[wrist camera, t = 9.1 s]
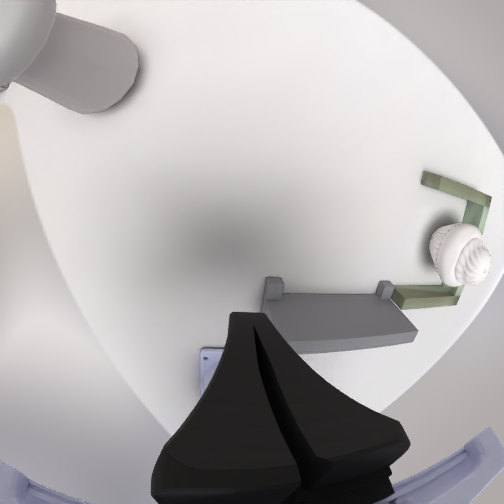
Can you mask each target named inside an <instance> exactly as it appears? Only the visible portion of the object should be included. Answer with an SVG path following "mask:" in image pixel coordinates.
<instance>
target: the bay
mask: <svg viewBox="0 0 504 504" xmlns="http://www.w3.org/2000/svg"><path fill="white" fill-rule="evenodd" d="M421 184H423V185H426V186H428V187H431V188H434V189H437V190H440V191H443V192H446V193H449V194H452V195H455V196H458V197H461V198H464V199H466V200H468V203H467V207H466V211H465V215H464V219H463V224H471V225H474V226H476V227H477V228H478V229H479V231H480V232H481V235H482V234H483V230H484V227H485V223H486V219H487V215H488V211H489V207H490V203H491V198H492V197H491V196H489V195H486V194H484V193H482V192H480V191H477V190H475V189H473V188H470V187H468V186H466V185H463V184H461V183H458V182H456V181H453V180H451V179H448V178H445V177H443V176H440V175H436V174H433V173H429V172H426V171H423V176H422V181H421ZM464 285H465V284H462V285H460V286H456V287H452V286H448V285H446V284H445V283H442V285H436V286H395V288H394V290H393V293H392V296H391V299H392V301H393V302H394V303H395V304H396V305H397V306H398V307H399V308H400V309H401V310H406V309H419V308H431V307H442V306H452V305H456V304H457V302H458V300H459V297H460V295H461V293H462V290H463V288H464Z"/></svg>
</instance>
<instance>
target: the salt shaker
mask: <svg viewBox="0 0 504 504" xmlns="http://www.w3.org/2000/svg"><path fill="white" fill-rule="evenodd" d="M138 67H139V63H138V54H137V47H136V46H135V45H134V44H133V42H132V41H131V40H130V39H129V38H128V37H127V36H126V35H124V34H122V33H119V32H116V31H113V30H111V29H108V28H105V27H102V26H99V25H96V24H93V23H89V22H86V21H83V20H79V19H76V18H73V17H70V16H67V15H63V14H60V13H56V1H55V0H0V87H1V86H4V85H6V84H8V83H11V82H13V81H14V82H16V83H18V84H20V85H22V86H24V87H26V88H29V89H31V90H33V91H35V92H37V93H39V94H41V95H43V96H44V97H46V98H48V99H50V100H52V101H54V102H56V103H58V104H60V105H62V106H64V107H66V108H68V109H70V110H73V111H76V112H78V113H81V114H87V113H93V112H100V111H104V110H106V109H107V108H109V107H110V106H112V105H113V104H115V103H117V102H118V101H120V100H121V98H122V97H123V96H124V95H125V94H126V92H127V91H128V90H129V89H130V88H131V86H132V85H133V83H134V80H135V77H136V73H137V70H138Z"/></svg>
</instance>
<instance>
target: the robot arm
mask: <svg viewBox="0 0 504 504" xmlns="http://www.w3.org/2000/svg"><path fill="white" fill-rule="evenodd" d="M205 357H207V358H205ZM200 394H201V398H200V400H199V401H198V403H197V405H196V406H195V407H194V409H193V410H192V412H191V413H190V415H189V416H188V417H187V419H186V420H185V421H184V423H183V424H182V425H181V427H180V428H179V429H178V430H177V431H176V433H175V434H174V435H173V436H172V437H171V438H170V439H169V441H168V442H167V443H166V444H165V445H164V447H163V449H162V451H161V454H160V455H159V457H158V460H157V462H156V464H155V467H154V470H153V473H152V478H151V496H152V497H153V498H154V499H155V500H156V501H157V502H158V504H387V503H388V504H470V503H471V502H472V501H473V500H474V499H475V498H476V497H477V495H479V494H480V493H481V492H482V490H483V489H484V488H485V487H486V486H487V485H488V484H489V483H490V482H491V481H492V480H493V479H494V478H495V477H496V476H497V475H498V474H499V473H500V472H501V471H502V470H503V469H504V448H503V446H502V445H501V443H500V441H499V440H498V438H497V436H496V435H495V433H494V432H493V430H492V428H491V427H490V426H488V427H487V428H485V429H484V430H483V431H481V432H480V433H478V434H477V435H476V436H475V437H473V438H472V439H471V440H470V441H469V442H468V443H466V444H465V446H464V447H462V448H461V449H459V450H458V451H456V452H455V453H453V454H451V455H450V456H448V457H446V458H445V459H443V460H441V461H439V462H438V463H436V464H434V465H432V466H430V467H428V468H427V469H425V470H423V471H421V472H419V473H417V474H415V475H413V476H411V477H409V478H406V479H404V480H402V481H400V482H398V483H395V484H393V485H392V484H391V482H390V480H389V476H391V475H392V472H391V469H390V467H389V466H390V465H391V464H393V463H394V462H395V461H396V460H397V459H399V458H400V457H401V456H402V455H403V454H404V453H405V452H406V451H407V450H408V449H409V447H410V441H409V439H408V437H407V435H406V433H405V431H404V429H403V427H402V425H401V424H400V422H399V421H397V420H394V419H392V418H389V417H387V416H385V415H382V414H380V413H378V412H375V411H373V410H371V409H369V408H368V407H366V406H364V405H362V404H360V403H358V402H357V401H355V400H353V399H352V398H350V397H348V396H347V395H345V394H344V393H342V392H341V391H339V390H338V389H336V388H335V387H334V386H332V385H331V384H330V383H328V382H327V381H326V380H325V379H323V378H322V377H321V376H320V375H319V374H317V373H316V372H315V371H314V370H313V369H312V368H311V367H310V366H309V365H308V364H307V363H306V362H305V361H304V360H303V359H302V358H301V357H300V356H299V355H298V354H297V353H296V352H295V351H294V350H293V348H292V347H291V346H290V345H289V344H288V343H287V341H286V340H285V339H284V338H283V337H282V335H281V334H280V333H279V331H278V330H277V329H276V327H275V326H274V325H273V323H272V322H271V321H270V319H269V318H268V317H267V315H266V314H265V313H253V312H232V313H231V314H230V317H229V327H228V337H227V341H226V344H225V348H224V349H202V350H201V352H200ZM0 504H94V503H90V502H87V501H84V500H81V499H78V498H75V497H72V496H69V495H67V494H63V493H61V492H59V491H56V490H54V489H51V488H49V487H46V486H44V485H42V484H40V483H37V482H35V481H33V480H31V479H29V478H28V477H27V476H26V475H24V474H23V473H22V472H20V471H19V470H17V469H16V468H14V467H12V466H11V465H9V464H7V463H5V462H3V461H2V460H0Z"/></svg>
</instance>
